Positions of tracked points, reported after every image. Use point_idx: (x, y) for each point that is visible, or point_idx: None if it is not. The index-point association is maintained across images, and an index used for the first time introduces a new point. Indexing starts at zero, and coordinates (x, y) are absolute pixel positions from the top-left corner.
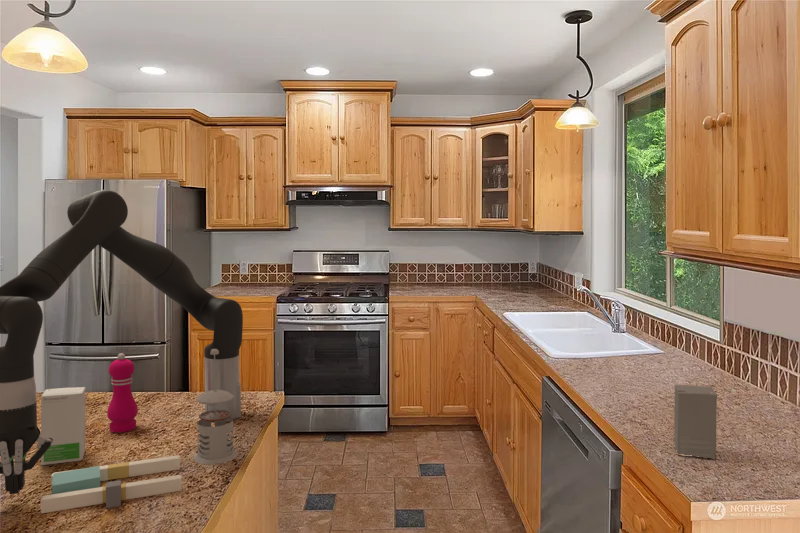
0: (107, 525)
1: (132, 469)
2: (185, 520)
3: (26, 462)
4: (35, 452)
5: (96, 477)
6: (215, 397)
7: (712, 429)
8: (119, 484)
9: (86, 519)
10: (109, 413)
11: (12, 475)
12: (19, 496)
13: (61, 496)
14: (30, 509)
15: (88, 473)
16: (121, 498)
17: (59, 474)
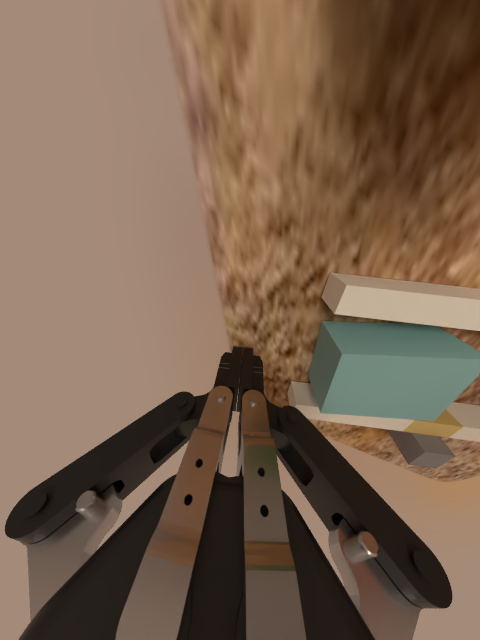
0: (360, 448)
1: None
2: (442, 473)
3: (273, 436)
4: (315, 465)
5: (425, 419)
6: None
7: None
8: (437, 466)
9: (343, 429)
10: None
11: (233, 410)
12: (247, 306)
13: (328, 419)
14: (271, 372)
15: (425, 395)
16: None
17: (355, 366)
